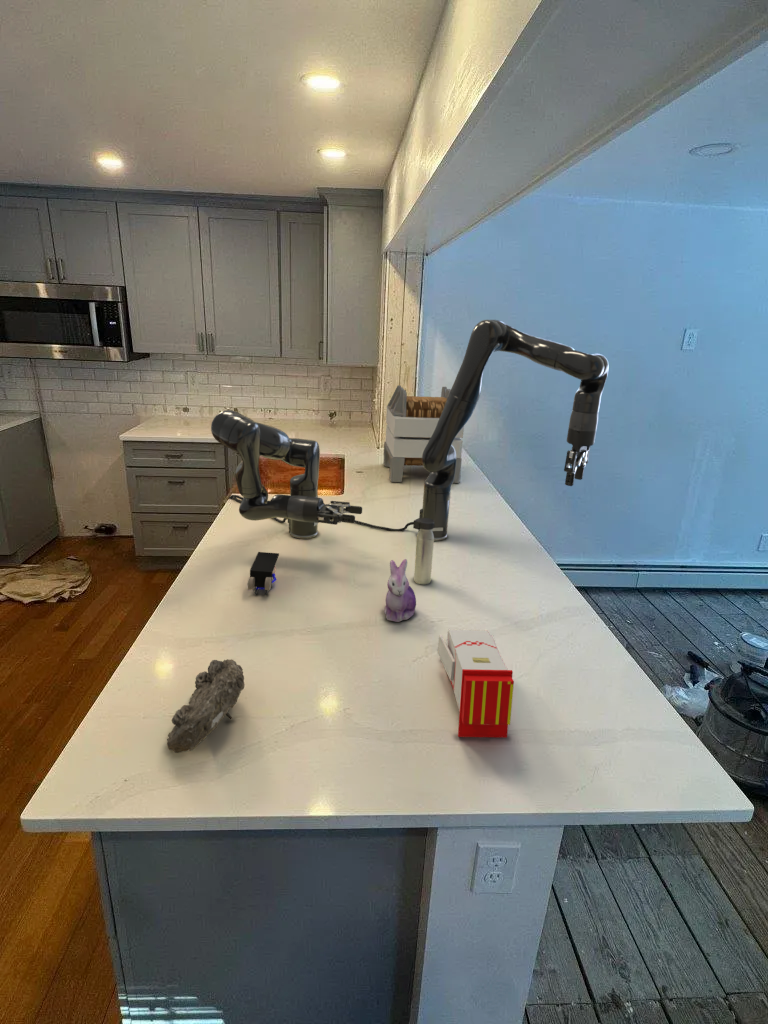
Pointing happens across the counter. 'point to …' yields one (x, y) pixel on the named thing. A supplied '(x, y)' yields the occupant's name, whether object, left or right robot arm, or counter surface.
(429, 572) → the bottle
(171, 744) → the fossil
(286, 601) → the counter surface
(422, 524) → the cap
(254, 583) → the black toy truck
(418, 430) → the grey wooden crate
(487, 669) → the toy
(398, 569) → the figurine
